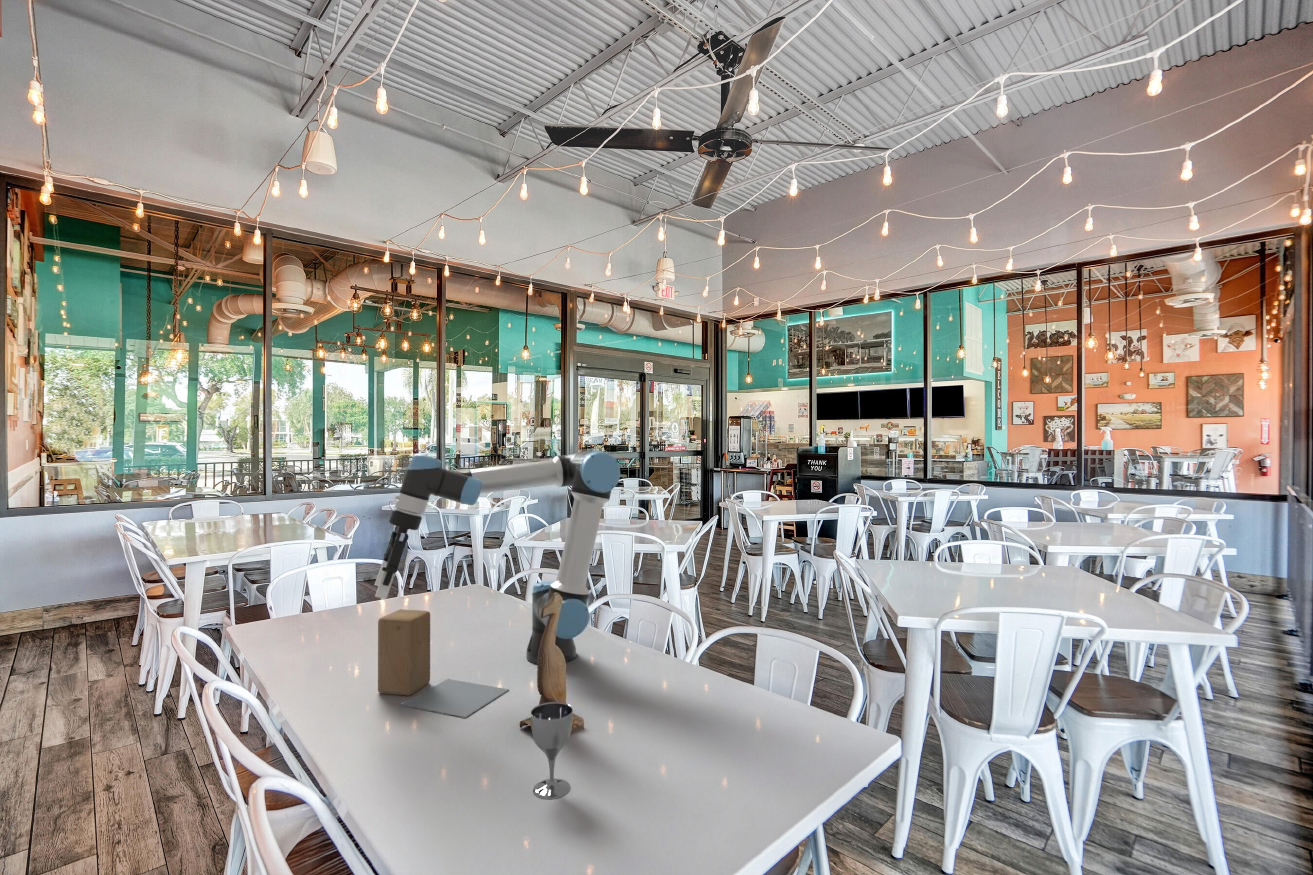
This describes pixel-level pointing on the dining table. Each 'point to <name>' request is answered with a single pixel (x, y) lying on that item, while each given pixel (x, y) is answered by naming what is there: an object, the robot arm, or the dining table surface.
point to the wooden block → (403, 652)
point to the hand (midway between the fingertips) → (380, 591)
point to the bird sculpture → (552, 663)
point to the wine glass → (551, 743)
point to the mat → (455, 698)
